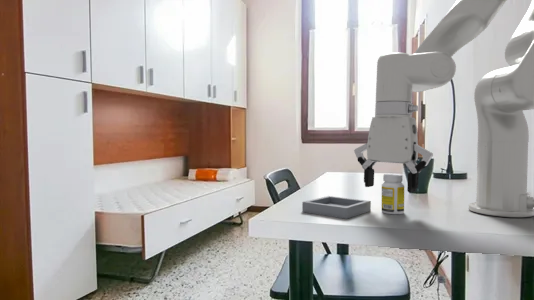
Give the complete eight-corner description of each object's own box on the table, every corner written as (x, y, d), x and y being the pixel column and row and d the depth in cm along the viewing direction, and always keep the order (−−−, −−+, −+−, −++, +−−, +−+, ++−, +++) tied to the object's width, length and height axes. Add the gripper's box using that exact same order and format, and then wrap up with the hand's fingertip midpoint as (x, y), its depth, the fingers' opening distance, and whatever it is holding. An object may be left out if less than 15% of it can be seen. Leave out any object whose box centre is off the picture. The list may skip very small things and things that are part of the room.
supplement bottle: (401, 210, 86) (401, 173, 86) (406, 215, 82) (407, 175, 81) (379, 210, 87) (379, 173, 86) (383, 214, 82) (384, 175, 82)
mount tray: (370, 210, 86) (370, 201, 86) (346, 218, 78) (346, 208, 78) (328, 204, 93) (328, 196, 93) (302, 211, 85) (302, 201, 85)
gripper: (439, 111, 80) (436, 192, 81) (364, 113, 92) (361, 183, 92) (428, 109, 75) (424, 195, 75) (349, 110, 86) (346, 186, 87)
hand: (389, 188), depth 84 cm, fingers open, 9 cm apart
